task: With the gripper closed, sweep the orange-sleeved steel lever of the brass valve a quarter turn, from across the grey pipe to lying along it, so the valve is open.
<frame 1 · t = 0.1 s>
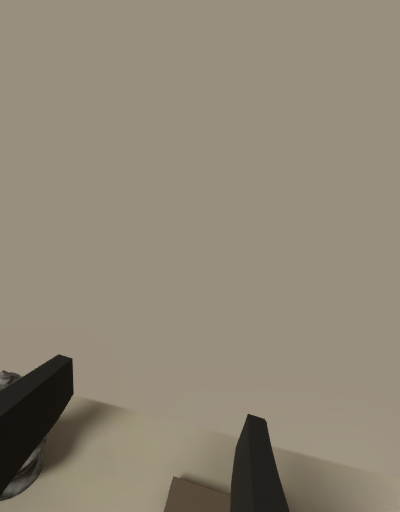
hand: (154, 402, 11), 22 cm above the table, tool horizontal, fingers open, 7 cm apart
salt shaker: (12, 469, 27), on the table
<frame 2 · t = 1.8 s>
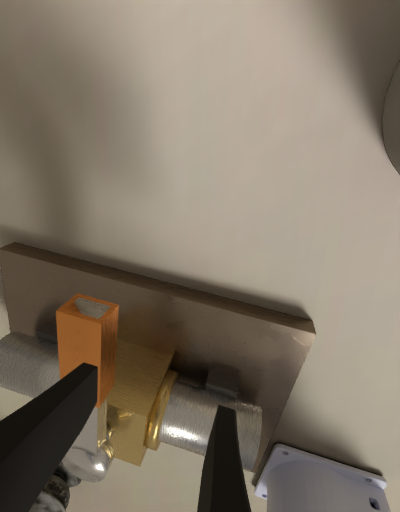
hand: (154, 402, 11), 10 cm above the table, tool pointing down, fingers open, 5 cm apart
valve manifold: (143, 356, 25), on the table
valve lever: (88, 402, 15), point 8 cm above the table, hinge at 0.0°
salt shaker: (63, 470, 35), on the table
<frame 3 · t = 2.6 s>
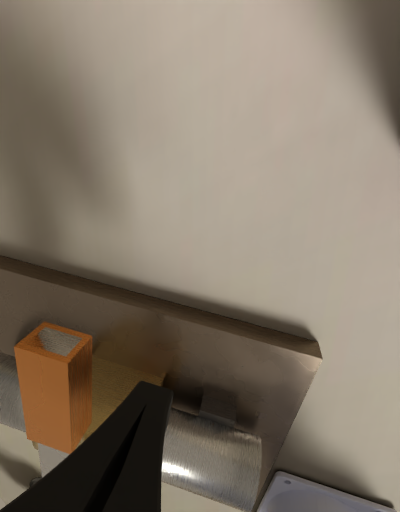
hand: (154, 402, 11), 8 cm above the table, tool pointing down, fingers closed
valve manifold: (133, 376, 23), on the table
valve lever: (61, 443, 13), point 8 cm above the table, hinge at 0.0°
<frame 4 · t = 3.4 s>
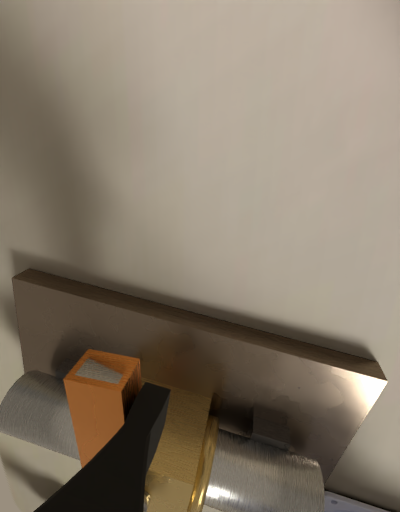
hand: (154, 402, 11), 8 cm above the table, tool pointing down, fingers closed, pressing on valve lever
valve manifold: (174, 394, 22), on the table
valve lever: (117, 475, 12), point 9 cm above the table, hinge at 7.5°, touching gripper
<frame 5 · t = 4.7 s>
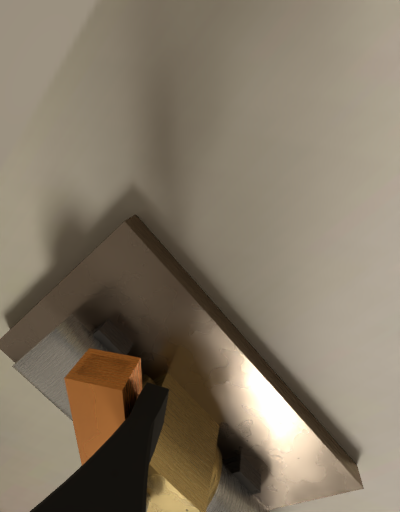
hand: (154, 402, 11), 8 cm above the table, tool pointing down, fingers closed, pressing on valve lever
valve manifold: (174, 395, 22), on the table
valve lever: (118, 475, 12), point 8 cm above the table, hinge at 46.8°, touching gripper
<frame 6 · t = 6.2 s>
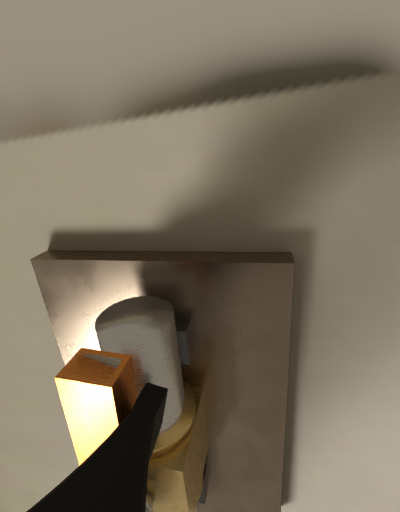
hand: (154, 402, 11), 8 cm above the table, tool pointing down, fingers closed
valve manifold: (177, 394, 22), on the table
valve lever: (117, 474, 12), point 8 cm above the table, hinge at 86.5°, touching gripper
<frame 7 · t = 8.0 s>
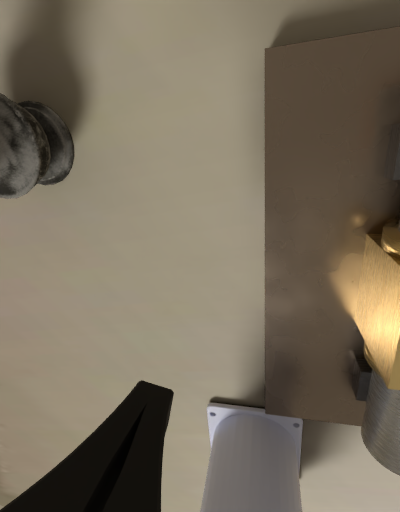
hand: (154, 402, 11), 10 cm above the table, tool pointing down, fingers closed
valve manifold: (399, 269, 17), on the table
salt shaker: (40, 145, 19), on the table
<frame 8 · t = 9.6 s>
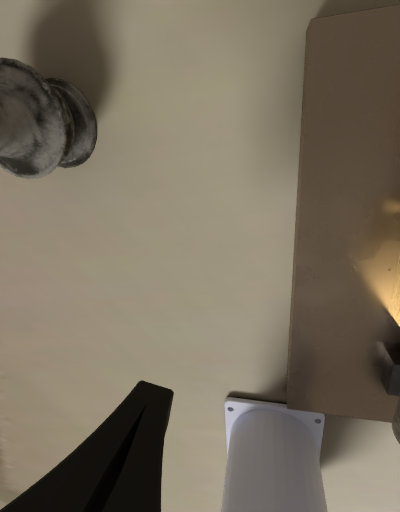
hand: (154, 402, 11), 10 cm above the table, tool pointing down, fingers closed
salt shaker: (61, 125, 18), on the table
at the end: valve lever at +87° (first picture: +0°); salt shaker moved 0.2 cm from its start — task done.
